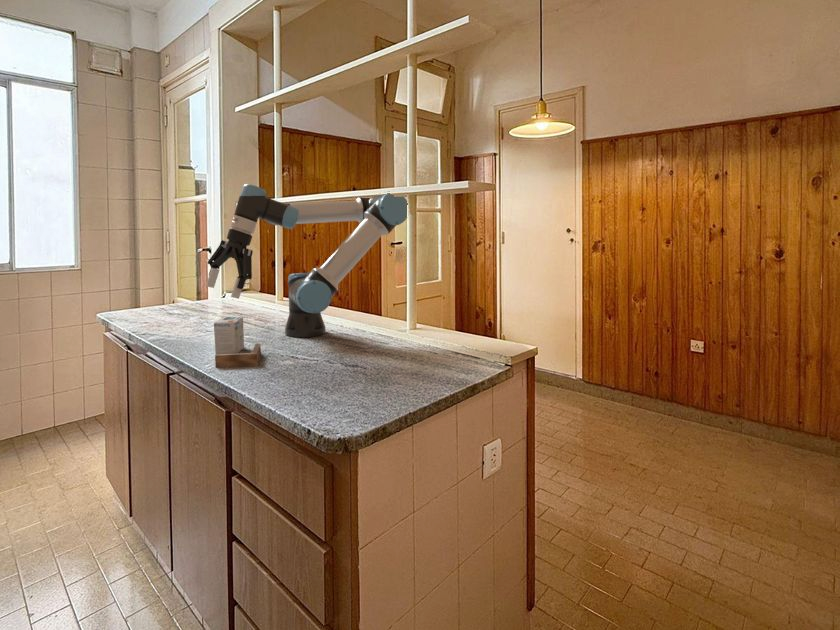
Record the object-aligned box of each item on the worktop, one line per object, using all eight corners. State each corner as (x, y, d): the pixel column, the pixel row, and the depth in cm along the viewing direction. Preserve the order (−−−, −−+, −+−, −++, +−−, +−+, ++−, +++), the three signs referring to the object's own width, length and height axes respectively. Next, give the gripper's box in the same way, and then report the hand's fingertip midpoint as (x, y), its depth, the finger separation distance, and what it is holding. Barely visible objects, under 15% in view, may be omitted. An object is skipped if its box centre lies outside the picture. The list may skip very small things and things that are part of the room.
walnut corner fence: (260, 354, 165) (260, 343, 164) (257, 365, 152) (256, 353, 151) (222, 356, 162) (222, 345, 162) (215, 367, 149) (215, 355, 149)
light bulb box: (224, 347, 173) (222, 316, 172) (245, 347, 174) (243, 316, 172) (214, 355, 163) (212, 322, 161) (236, 355, 163) (235, 322, 162)
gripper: (209, 220, 174) (190, 280, 174) (257, 235, 161) (236, 300, 162) (227, 226, 180) (209, 284, 181) (274, 242, 167) (255, 304, 168)
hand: (222, 292), depth 171 cm, fingers open, 13 cm apart
